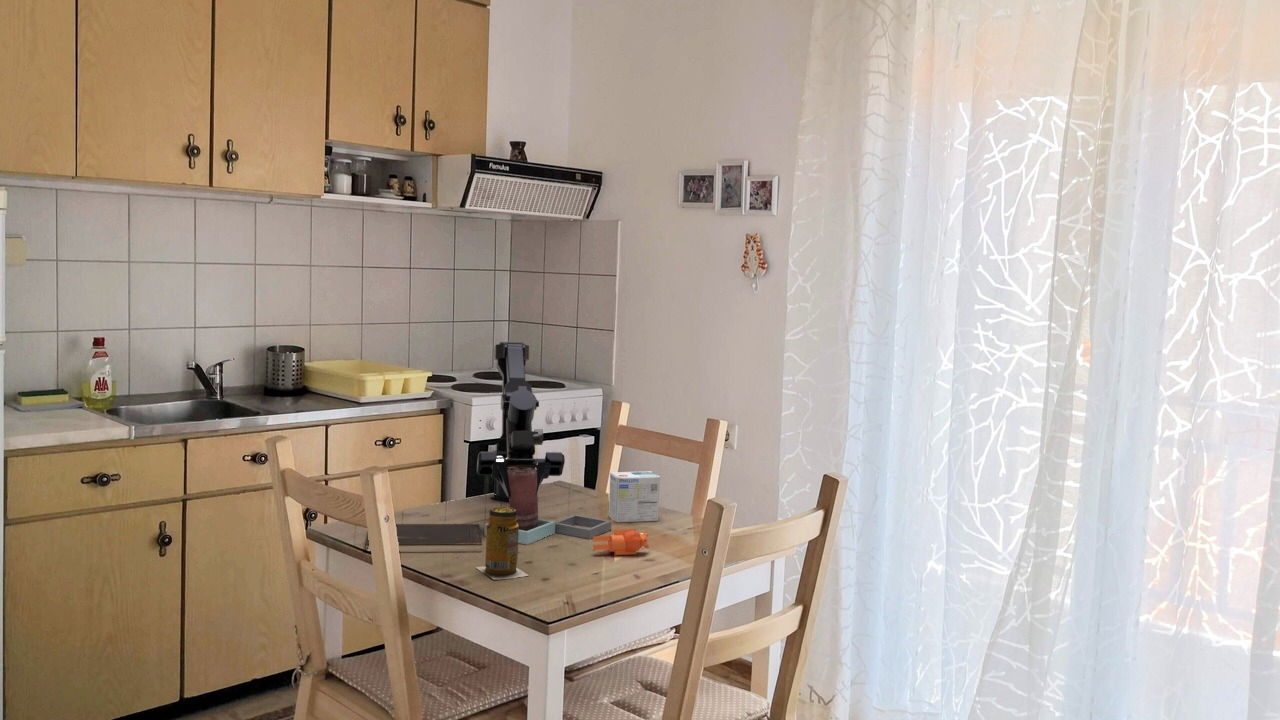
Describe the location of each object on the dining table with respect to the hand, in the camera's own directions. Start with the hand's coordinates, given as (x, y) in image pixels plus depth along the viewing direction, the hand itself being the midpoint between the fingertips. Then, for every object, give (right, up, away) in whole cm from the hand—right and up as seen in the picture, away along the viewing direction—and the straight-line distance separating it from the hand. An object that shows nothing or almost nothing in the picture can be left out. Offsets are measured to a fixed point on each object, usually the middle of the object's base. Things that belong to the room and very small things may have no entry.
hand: (522, 496), depth 219 cm
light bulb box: (+24, -8, +21) cm, 33 cm away
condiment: (-1, -11, -24) cm, 27 cm away
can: (0, -8, +3) cm, 8 cm away
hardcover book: (-20, -9, -6) cm, 23 cm away
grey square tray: (+12, -9, +8) cm, 17 cm away
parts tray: (-1, -9, +2) cm, 9 cm away
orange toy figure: (+21, -11, -7) cm, 25 cm away
